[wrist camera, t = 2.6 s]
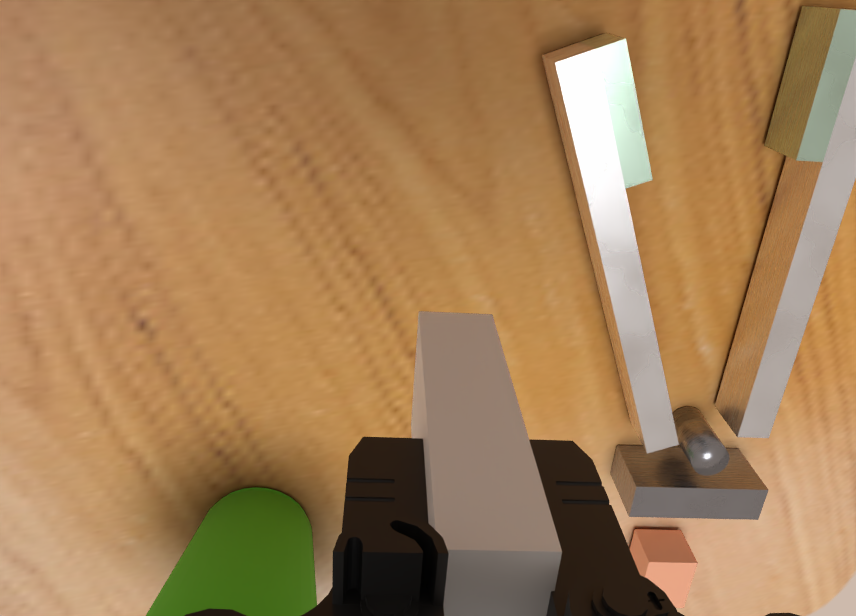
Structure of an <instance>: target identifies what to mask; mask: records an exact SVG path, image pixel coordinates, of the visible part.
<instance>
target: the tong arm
mask: <svg viewBox="0 0 856 616" xmlns="http://www.w3.org/2000/svg"><path fill="white" fill-rule="evenodd" d="M542 59H543V63H544V67H545V71H546V75H547V79H548V84H549V88H550V92H551V96H552V100H553V104H554V108H555V112H556V117H557V121H558V125H559V129H560V133H561V137H562V141H563V146H564V150H565V154H566V158H567V162H568V166H569V170H570V174H571V179H572V183H573V187H574V191H575V195H576V199H577V203H578V207H579V212H580V216H581V220H582V224H583V228H584V232H585V236H586V240H587V245H588V249H589V253H590V257H591V261H592V265H593V269H594V274H595V278H596V282H597V286H598V290H599V294H600V298H601V302H602V307H603V311H604V315H605V319H606V323H607V327H608V331H609V335H610V340H611V344H612V348H613V352H614V356H615V360H616V364H617V369H618V373H619V377H620V381H621V385H622V389H623V393H624V397H625V402H626V406H627V410H628V414H629V418H630V422H631V424H632V426H633V428H634V430H635V431H636V433H637V435H638V437H639V439H640V441H641V443H642V445H643V447H644V449H645V451H646V452H647V454H648V453H651V452H655V451H658V450H662V449H665V448H669V447H672V446H676V445H679V443H678V438H677V433H676V429H675V424H674V419H673V414H672V409H671V405H670V400H669V395H668V390H667V385H666V381H665V376H664V371H663V366H662V362H661V357H660V352H659V347H658V342H657V338H656V333H655V328H654V323H653V318H652V314H651V309H650V304H649V299H648V294H647V290H646V285H645V280H644V275H643V270H642V266H641V261H640V256H639V251H638V246H637V242H636V237H635V232H634V227H633V222H632V218H631V213H630V208H629V203H628V199H627V194H626V188H629V187H632V186H635V185H638V184H641V183H644V182H647V181H650V180H653V179H652V174H651V169H650V163H649V158H648V153H647V147H646V142H645V137H644V132H643V126H642V121H641V116H640V111H639V105H638V100H637V95H636V89H635V84H634V79H633V74H632V68H631V63H630V58H629V53H628V47H627V42H626V39H625V38H622V37H619V36H615V35H612V34H608V33H604V34H601V35H598V36H595V37H593V38H590V39H587V40H584V41H581V42H578V43H575V44H572V45H569V46H567V47H564V48H561V49H558V50H555V51H552V52H549V53H546V54H543V55H542Z"/></svg>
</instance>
